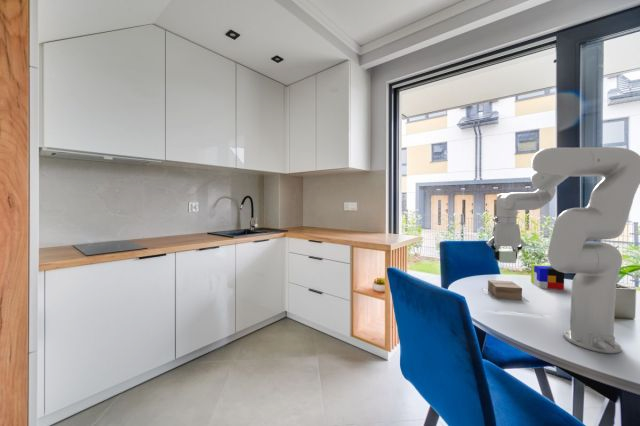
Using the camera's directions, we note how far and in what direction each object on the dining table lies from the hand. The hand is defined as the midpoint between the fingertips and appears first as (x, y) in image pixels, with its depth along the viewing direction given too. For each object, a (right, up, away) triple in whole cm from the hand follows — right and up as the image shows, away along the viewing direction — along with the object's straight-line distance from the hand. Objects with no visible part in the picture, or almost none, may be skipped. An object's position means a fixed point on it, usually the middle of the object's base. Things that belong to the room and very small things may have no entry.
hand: (505, 259), depth 122 cm
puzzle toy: (+33, -17, +17) cm, 41 cm away
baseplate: (0, -17, +1) cm, 17 cm away
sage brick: (0, -1, 0) cm, 1 cm away
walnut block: (0, -16, +1) cm, 16 cm away
